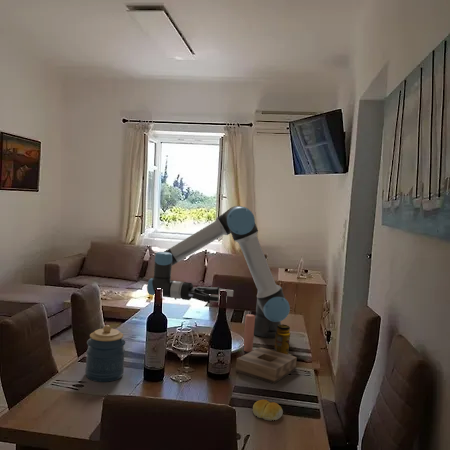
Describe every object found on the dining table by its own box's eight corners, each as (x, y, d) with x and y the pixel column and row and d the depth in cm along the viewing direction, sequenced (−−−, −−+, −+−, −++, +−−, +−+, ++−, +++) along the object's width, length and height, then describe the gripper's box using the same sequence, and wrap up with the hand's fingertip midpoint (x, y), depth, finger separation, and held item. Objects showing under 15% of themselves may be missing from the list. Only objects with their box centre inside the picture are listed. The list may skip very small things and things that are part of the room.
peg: (246, 347, 203) (248, 313, 202) (254, 350, 201) (256, 315, 200) (241, 350, 200) (244, 315, 198) (249, 352, 197) (252, 317, 196)
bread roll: (259, 405, 149) (260, 393, 149) (285, 414, 144) (286, 401, 144) (246, 414, 142) (247, 402, 142) (273, 424, 137) (274, 411, 137)
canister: (89, 384, 155) (92, 332, 153) (81, 370, 166) (84, 321, 165) (128, 380, 161) (131, 329, 159) (118, 366, 172) (121, 318, 171)
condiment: (292, 355, 198) (295, 327, 197) (277, 358, 193) (279, 329, 192) (281, 349, 204) (283, 322, 203) (266, 352, 199) (268, 324, 198)
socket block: (259, 359, 190) (260, 347, 190) (295, 369, 181) (296, 357, 181) (235, 371, 175) (236, 358, 175) (274, 383, 166) (275, 370, 166)
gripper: (190, 293, 218) (235, 299, 213) (172, 305, 193) (222, 312, 189) (191, 277, 217) (236, 282, 213) (173, 287, 193) (224, 293, 188)
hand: (229, 296), depth 201 cm, fingers open, 13 cm apart
